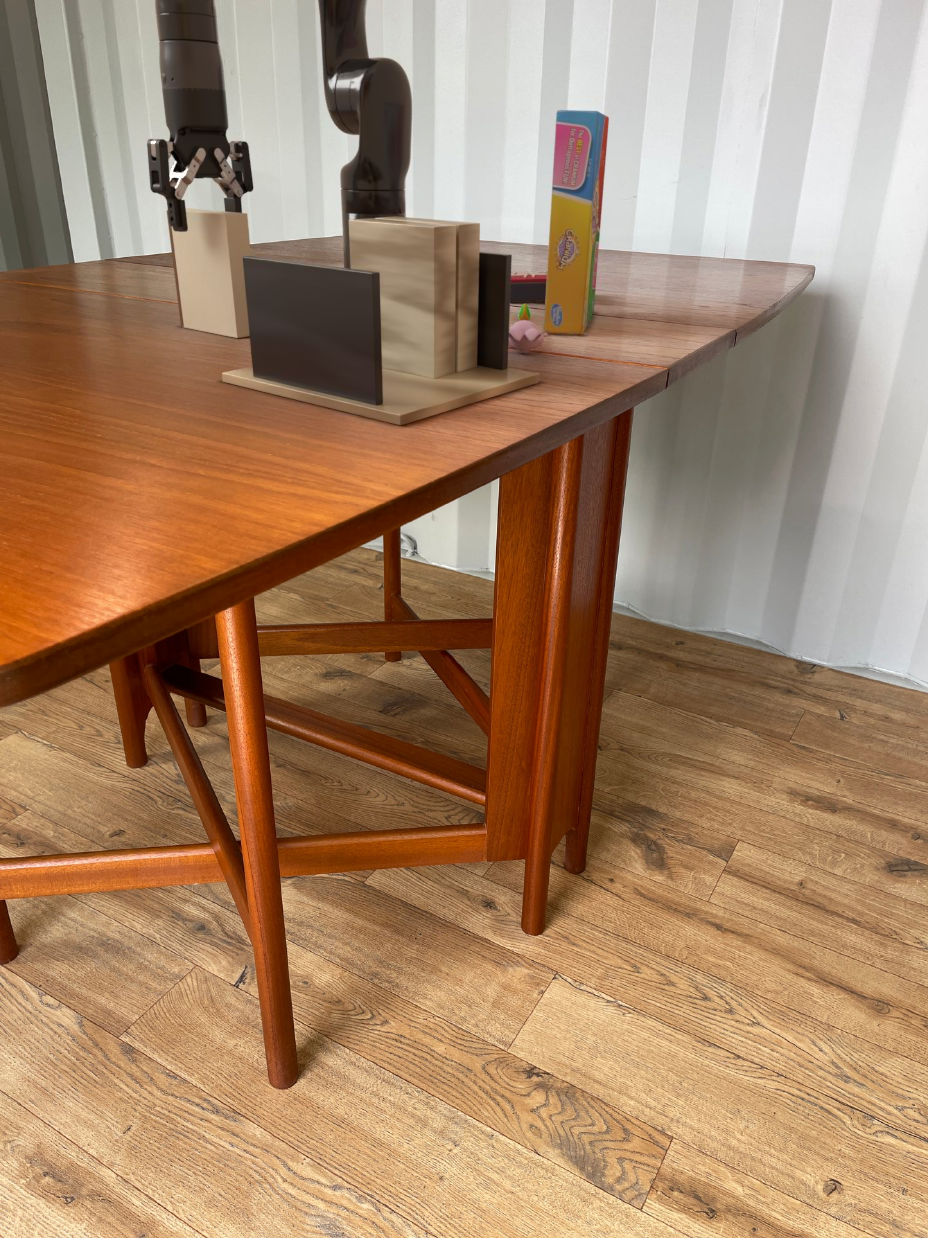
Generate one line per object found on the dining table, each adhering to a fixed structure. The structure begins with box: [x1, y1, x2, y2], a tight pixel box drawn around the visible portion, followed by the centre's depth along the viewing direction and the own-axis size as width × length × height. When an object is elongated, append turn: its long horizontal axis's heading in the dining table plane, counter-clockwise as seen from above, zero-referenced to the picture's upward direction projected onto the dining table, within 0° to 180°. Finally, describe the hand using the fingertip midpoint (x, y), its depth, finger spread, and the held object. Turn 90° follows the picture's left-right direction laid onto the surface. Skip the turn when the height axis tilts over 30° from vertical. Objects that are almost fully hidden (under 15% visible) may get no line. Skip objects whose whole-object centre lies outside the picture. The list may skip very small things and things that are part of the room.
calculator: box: [510, 269, 547, 303], centre depth 154 cm, size 11×4×15 cm
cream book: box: [166, 208, 252, 339], centre depth 122 cm, size 4×12×15 cm, turn 52°
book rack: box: [221, 216, 540, 426], centre depth 97 cm, size 23×26×16 cm
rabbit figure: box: [508, 303, 549, 354], centre depth 115 cm, size 6×6×15 cm
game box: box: [543, 109, 610, 335], centre depth 129 cm, size 21×6×27 cm, turn 168°
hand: (208, 229), depth 119 cm, fingers open, 8 cm apart
